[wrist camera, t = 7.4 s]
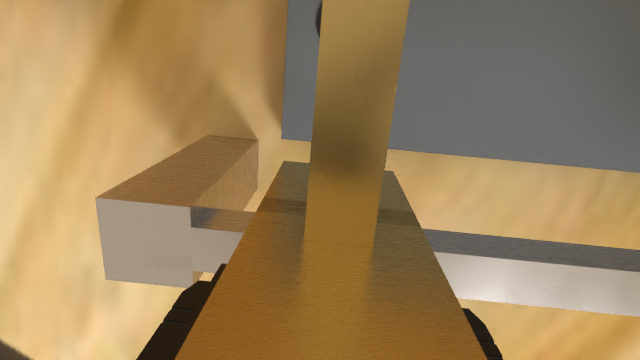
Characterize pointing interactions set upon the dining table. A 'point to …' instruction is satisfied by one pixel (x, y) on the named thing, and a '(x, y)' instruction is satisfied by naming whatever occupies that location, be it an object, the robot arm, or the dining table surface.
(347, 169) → the slide head
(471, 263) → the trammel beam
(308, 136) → the flange plate
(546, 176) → the dining table surface
